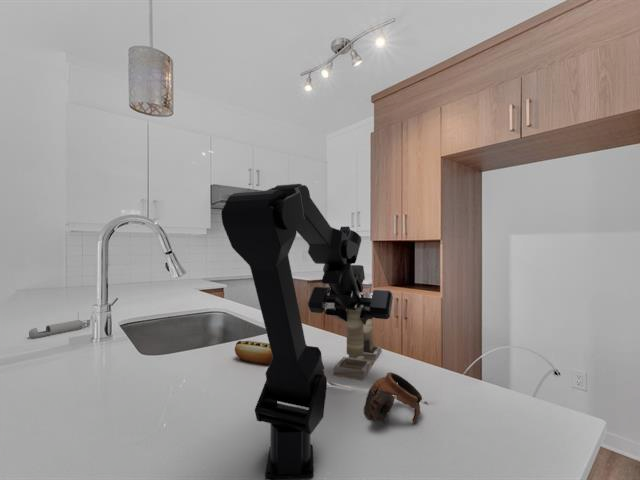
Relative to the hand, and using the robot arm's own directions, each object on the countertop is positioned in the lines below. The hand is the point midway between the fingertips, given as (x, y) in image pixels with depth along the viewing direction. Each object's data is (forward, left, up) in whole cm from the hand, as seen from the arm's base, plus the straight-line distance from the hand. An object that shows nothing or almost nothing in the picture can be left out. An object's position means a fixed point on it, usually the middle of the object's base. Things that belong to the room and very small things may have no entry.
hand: (356, 321), depth 77 cm
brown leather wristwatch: (-20, -3, -13) cm, 24 cm away
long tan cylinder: (+10, -4, -11) cm, 15 cm away
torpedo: (+40, +99, -13) cm, 107 cm away
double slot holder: (+4, -1, -12) cm, 13 cm away
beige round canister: (-1, +1, -7) cm, 7 cm away
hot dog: (+9, +26, -13) cm, 30 cm away
